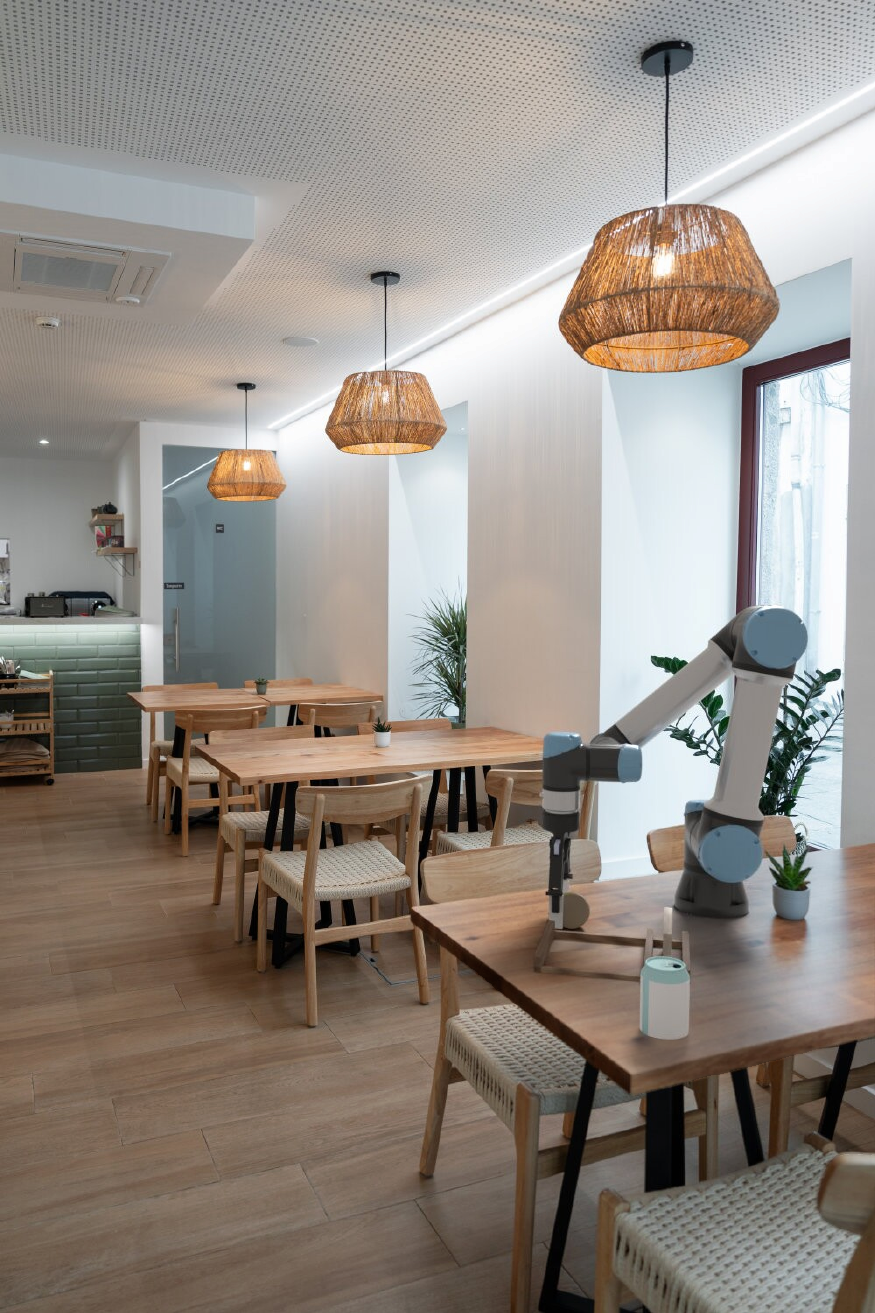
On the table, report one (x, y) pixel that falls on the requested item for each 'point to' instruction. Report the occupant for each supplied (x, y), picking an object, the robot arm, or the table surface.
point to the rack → (606, 947)
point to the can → (664, 998)
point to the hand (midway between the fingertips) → (558, 919)
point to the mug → (574, 910)
